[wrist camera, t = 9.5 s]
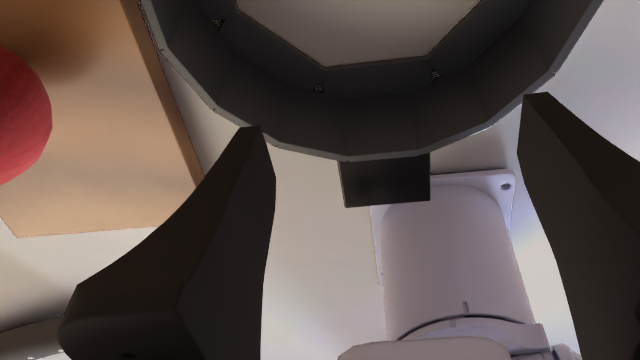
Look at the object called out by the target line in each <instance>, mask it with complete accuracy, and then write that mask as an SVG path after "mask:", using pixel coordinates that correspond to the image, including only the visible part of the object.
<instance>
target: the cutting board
mask: <svg viewBox="0 0 640 360" xmlns="http://www.w3.org/2000/svg"><path fill="white" fill-rule="evenodd" d="M0 45H1V46H3V47H5V48H7V49H8V50H10V51H11V52H13V53H15V54H16V55H18V56H19V57H21V58H22V59H23V60H24V61H25V62H26V63H27V64H28V65H29V66H30V67H31V68H32V69H33V70H34V71H35V72H36V73H37V75H38V76H39V77H40V79H41V81H42V83H43V85H44V88H45V90H46V92H47V94H48V96H49V99H50V103H51V107H52V123H53V129H52V132H51V134H50V137H49V139H48V141H47V144H46V146H45V148H44V150H43V152H42V154H41V156H40V158H39V159H38V160H37V161H36V162H35V163H34V164H33V165H32V166H31V167H30V168H29V169H27V170H26V171H24V172H23V173H21V174H20V175H18V176H17V177H15V178H13V179H12V180H10V181H8V182H6V183H4V184H3V185H0V217H1V218H2V220H3V221H4V222H5V223H6V225H7V226H8V227H9V229H10V230H11V231H12V232H13V234H14V235H15V236H16V237H17V238H20V237H33V236H45V235H57V234H69V233H82V232H94V231H106V230H119V229H131V228H143V227H155V226H160V225H162V224H163V223H164V222H165V221H166V220H167V219H168V218H169V217H170V216H171V215H172V214H173V213H174V212H175V211H176V210H177V209H178V208H179V207H180V206H181V205H182V204H183V203H184V202H185V201H186V199H187V198H188V197H189V196H190V195H191V194H192V192H193V191H194V190H195V189H196V187H197V186H198V185H199V184H200V182H201V181H202V180H203V179H204V174H203V172H202V169H201V166H200V164H199V161H198V159H197V156H196V154H195V151H194V148H193V146H192V143H191V141H190V138H189V136H188V133H187V131H186V128H185V125H184V123H183V120H182V118H181V115H180V113H179V110H178V107H177V105H176V102H175V100H174V97H173V95H172V92H171V89H170V87H169V84H168V82H167V79H166V77H165V74H164V71H163V69H162V66H161V64H160V61H159V59H158V56H157V53H156V51H155V48H154V46H153V43H152V41H151V38H150V35H149V33H148V30H147V28H146V25H145V23H144V20H143V17H142V15H141V12H140V10H139V7H138V5H137V2H136V0H0Z"/></svg>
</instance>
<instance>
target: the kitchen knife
mask: <svg viewBox="0 0 640 360" xmlns="http://www.w3.org/2000/svg"><path fill="white" fill-rule="evenodd" d="M62 318H63V316H62V317H57V318H53V319H48V320H44V321H40V322H36V323H33V324H29V325H25V326H22V327H18V328H15V329H11V330H8V331H4V332H0V360H35V359H39V358H43V357H46V356H50V355H54V354H58V353H62V352H64V351H63V349H62V348H61V346H60V345H59V343H58V341H57V336H56V333H57V331H58V328H59V326H60V323H61V321H62Z"/></svg>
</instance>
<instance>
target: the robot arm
mask: <svg viewBox="0 0 640 360" xmlns="http://www.w3.org/2000/svg"><path fill="white" fill-rule="evenodd" d="M517 156H518V160H519V164H520V168H521V172H522V176H523V179H524V183H525V186H526V188H527V191H528V193H529V196H530V198H531V201H532V203H533V206H534V208H535V210H536V213H537V215H538V217H539V220H540V222H541V225H542V227H543V229H544V232H545V234H546V236H547V239H548V241H549V243H550V246H551V248H552V251H553V254H554V256H555V259H556V262H557V265H558V269H559V272H560V276H561V279H562V283H563V286H564V290H565V293H566V297H567V301H568V304H569V308H570V312H571V316H572V319H573V323H574V327H575V331H576V336H577V340H578V344H579V348H580V352H581V356H582V357H581V356H580V355H578V354H577V353H575V352H574V351H572V350H571V349H570V348H569V347H568V346H567V345H565V344H559V345H555V346H551V351H550V347H549V344H548V341H547V337H546V334H545V331H544V328H543V325H542V324H540V323H538V324H536V322H535V319H534V316H533V312H532V309H531V306H530V302H529V299H528V296H527V293H526V289H525V286H524V283H523V280H522V276H521V273H520V270H519V266H518V263H517V260H516V257H515V253H514V250H513V247H512V244H511V240H510V237H509V234H508V233H509V225H510V218H511V211H512V203H513V196H514V189H515V181H516V176H515V173H514V172H513V170H510V169H499V170H487V171H476V172H464V173H453V174H441V175H430V185H431V200H430V201H424V202H412V203H400V204H387V205H375V206H370V215H371V223H372V232H373V240H374V249H375V257H376V266H377V274H378V283H379V285H380V286H382V287H383V290H384V304H385V317H386V331H387V341H381V342H370V343H365V344H361V345H356V346H353V347H351V348H350V349H348V350H347V351H345V352H344V353H342V354H341V355H340V356H338V359H337V360H640V162H639V161H638V160H636V159H634V158H633V157H631V156H630V155H628V154H627V153H625V152H624V151H622V150H621V149H619V148H618V147H616V146H615V145H613V144H612V143H610V142H609V141H608V140H606V139H605V138H603V137H602V136H601V135H599V134H598V133H597V132H595V131H594V130H593V129H592V128H590V127H589V126H588V125H586V124H585V123H584V122H583V121H582V120H580V119H579V118H578V117H577V116H575V115H574V114H573V113H572V112H571V111H569V110H568V109H567V108H566V107H565V106H564V105H562V104H561V103H560V102H559V101H558V100H556V99H555V98H554V97H553V96H552V95H551V94H549V93H548V92H542V93H533V94H524V95H523V103H522V112H521V120H520V129H519V138H518V147H517ZM505 183H508V184H506V185H503V184H505ZM275 200H276V176H275V172H274V169H273V166H272V162H271V159H270V155H269V152H268V149H267V145H266V142H265V138H264V135H263V132H262V128H261V125H256V126H248V127H240V128H239V129H238V130H237V132H236V133H235V135H234V136H233V138H232V139H231V141H230V142H229V144H228V145H227V146H226V148H225V149H224V151H223V152H222V154H221V155H220V157H219V158H218V160H217V161H216V162H215V164H214V165H213V166H212V168H211V169H210V171H209V172H208V173H207V175H206V176H205V177H204V179H203V180H202V181H201V182H200V184H199V185H198V186H197V187H196V189H195V190H194V191H193V192H192V194H191V195H190V196H189V197H188V198H187V199H186V201H185V202H184V203H183V204H182V205H181V206H180V207H179V208H178V209H177V210H176V211H175V212H174V213H173V214H172V215H171V216H170V217H169V218H168V219H167V220H166V221H165V222H164V223H163V224H162V225H160V226H159V227H158V228H157V229H156V230H155V231H153V232H152V233H151V234H150V235H149V236H148V237H147V238H145V239H144V240H143V241H142V242H141V243H139V244H138V245H137V246H135V247H134V248H133V249H131V250H130V251H129V252H127V253H126V254H125V255H123V256H122V257H120V258H119V259H118V260H116V261H115V262H113V263H112V264H110V265H109V266H107V267H106V268H104V269H102V270H101V271H99V272H98V273H96V274H94V275H93V276H91V277H89V278H88V279H86V280H85V281H83V282H81V283H79V284H78V285H77V287H76V289H75V291H74V293H73V295H72V297H71V299H70V301H69V304H68V306H67V309H66V311H65V314H64V316H63V318H62V321H61V323H60V326H59V328H58V331H57V333H56V336H57V341H58V343H59V345H60V346H61V348H62V349H63V351H64V352H65V353H66V354H67V355H68V356H69V357H70V358H71V360H260V344H261V316H262V297H263V282H264V274H265V267H266V261H267V255H268V249H269V243H270V237H271V231H272V225H273V219H274V213H275Z"/></svg>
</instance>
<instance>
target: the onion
mask: <svg viewBox="0 0 640 360" xmlns="http://www.w3.org/2000/svg"><path fill="white" fill-rule="evenodd" d="M52 129H53V123H52V107H51V103H50V99H49V96H48V94H47V92H46V90H45V88H44V85H43V83H42V81H41V79H40V77H39V76H38V75H37V73H36V72H35V71H34V70H33V69H32V68H31V67H30V66H29V65H28V64H27V63H26V62H25V61H24V60H23V59H22V58H21V57H19V56H18V55H16V54H15V53H13V52H11V51H10V50H8V49H7V48H5V47H3V46H1V45H0V185H3V184H4V183H6V182H8V181H10V180H12V179H13V178H15V177H17V176H18V175H20V174H21V173H23V172H24V171H26V170H27V169H29V168H30V167H31V166H32V165H33V164H34V163H35V162H36V161H37V160H38V159H39V158H40V156H41V154H42V152H43V150H44V148H45V146H46V144H47V141H48V139H49V137H50V134H51V132H52Z"/></svg>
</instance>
